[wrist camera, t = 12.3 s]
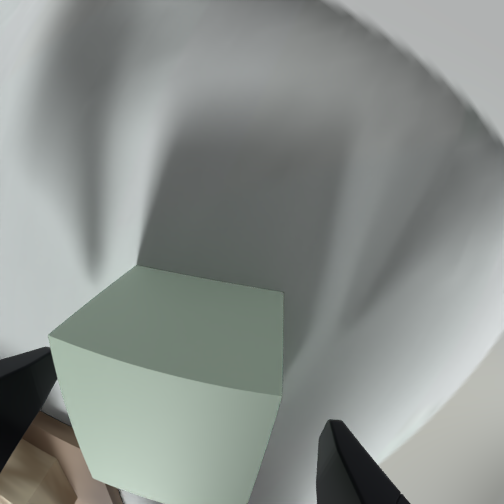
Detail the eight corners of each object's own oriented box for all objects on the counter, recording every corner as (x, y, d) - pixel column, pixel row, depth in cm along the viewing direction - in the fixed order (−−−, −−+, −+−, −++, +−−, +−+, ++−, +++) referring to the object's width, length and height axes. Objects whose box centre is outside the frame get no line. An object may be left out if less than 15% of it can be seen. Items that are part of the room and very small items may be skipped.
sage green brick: (283, 291, 10) (282, 396, 5) (255, 419, 12) (241, 519, 7) (137, 264, 10) (47, 335, 5) (141, 393, 12) (92, 478, 7)
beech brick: (56, 458, 13) (22, 510, 8) (77, 497, 15) (53, 541, 10) (3, 426, 13) (-33, 467, 9) (28, 470, 15) (2, 507, 10)
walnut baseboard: (103, 441, 13) (94, 455, 12) (128, 517, 17) (123, 527, 16) (-29, 366, 14) (-39, 374, 13) (17, 461, 17) (11, 468, 16)
